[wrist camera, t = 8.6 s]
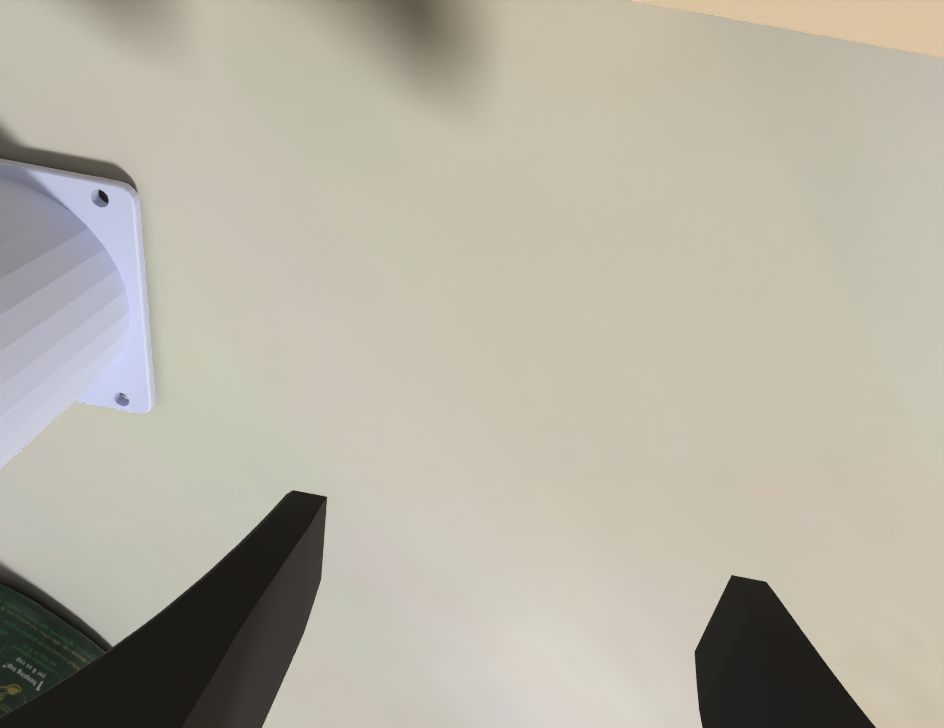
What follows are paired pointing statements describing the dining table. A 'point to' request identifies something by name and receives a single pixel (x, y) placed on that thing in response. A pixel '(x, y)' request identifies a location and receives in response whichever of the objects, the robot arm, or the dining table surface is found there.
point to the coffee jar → (36, 649)
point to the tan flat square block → (839, 19)
